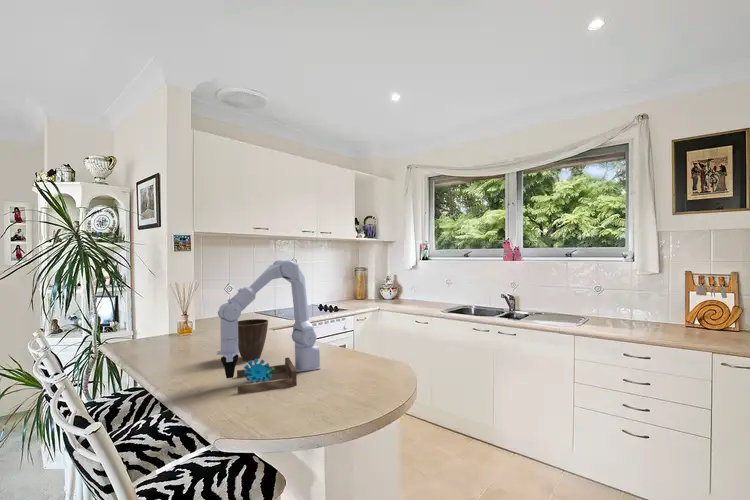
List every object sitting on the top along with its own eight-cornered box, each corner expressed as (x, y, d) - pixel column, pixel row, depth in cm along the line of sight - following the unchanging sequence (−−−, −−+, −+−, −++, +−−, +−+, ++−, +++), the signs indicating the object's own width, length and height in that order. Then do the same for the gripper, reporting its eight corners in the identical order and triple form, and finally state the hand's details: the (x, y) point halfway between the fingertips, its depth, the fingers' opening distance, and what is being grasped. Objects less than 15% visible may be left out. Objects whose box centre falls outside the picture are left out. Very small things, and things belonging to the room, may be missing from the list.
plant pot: (225, 362, 154) (224, 324, 155) (245, 353, 169) (244, 318, 169) (257, 364, 151) (256, 325, 151) (274, 354, 166) (274, 319, 166)
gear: (247, 384, 123) (243, 358, 129) (241, 393, 126) (237, 367, 132) (278, 381, 130) (272, 356, 136) (272, 390, 133) (267, 365, 139)
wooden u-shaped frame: (289, 370, 142) (288, 357, 142) (296, 385, 126) (296, 370, 126) (237, 377, 135) (236, 363, 135) (237, 393, 119) (237, 378, 119)
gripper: (217, 335, 132) (218, 372, 132) (216, 343, 118) (216, 386, 118) (238, 333, 134) (239, 370, 134) (239, 341, 121) (239, 382, 121)
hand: (229, 377), depth 126 cm, fingers closed
